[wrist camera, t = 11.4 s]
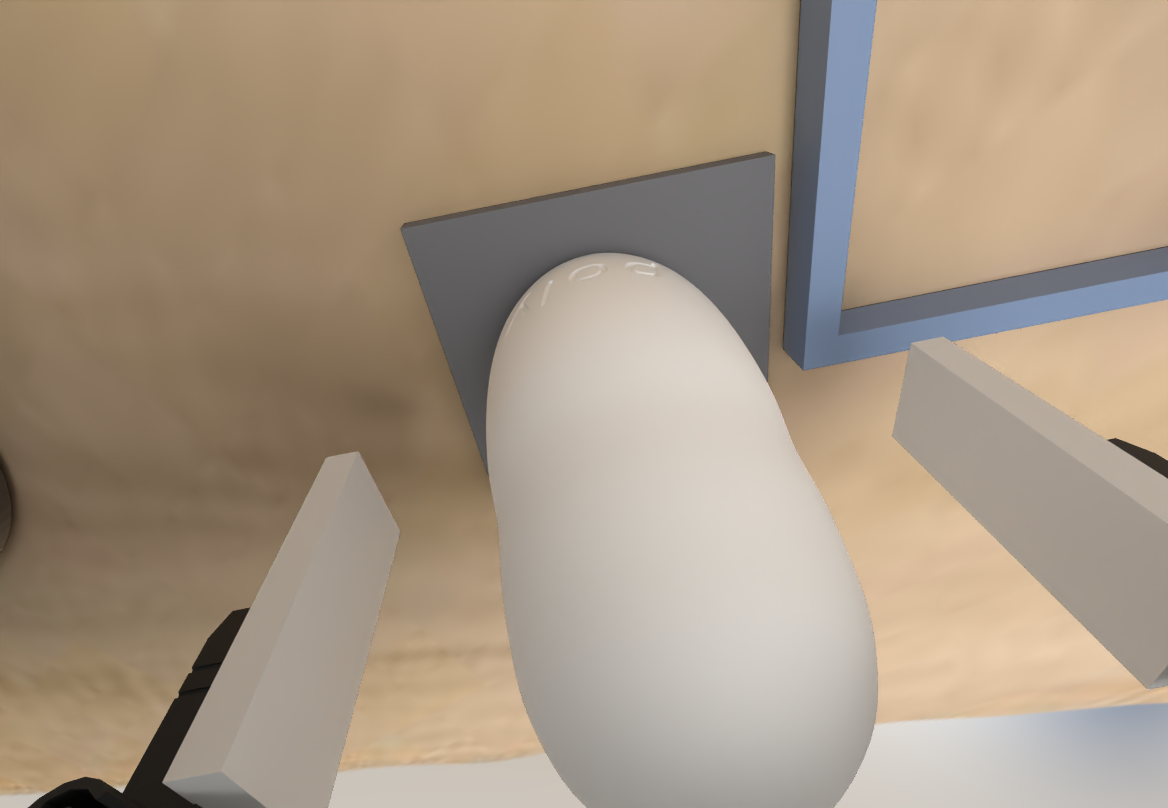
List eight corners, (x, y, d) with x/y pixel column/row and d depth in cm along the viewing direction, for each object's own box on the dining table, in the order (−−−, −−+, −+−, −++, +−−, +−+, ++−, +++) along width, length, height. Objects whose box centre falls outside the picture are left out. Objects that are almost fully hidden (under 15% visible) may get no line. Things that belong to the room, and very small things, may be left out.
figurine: (539, 477, 19) (556, 953, 9) (450, 283, 15) (285, 763, 5) (733, 421, 18) (989, 859, 8) (698, 203, 14) (1135, 548, 4)
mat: (498, 491, 20) (497, 502, 19) (404, 223, 14) (400, 229, 14) (759, 440, 20) (765, 450, 19) (766, 151, 14) (775, 154, 14)
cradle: (783, 349, 17) (803, 370, 16) (818, -345, 10) (863, -407, 8) (1209, 265, 17) (1262, 280, 16) (1604, -506, 9) (1769, -594, 8)
